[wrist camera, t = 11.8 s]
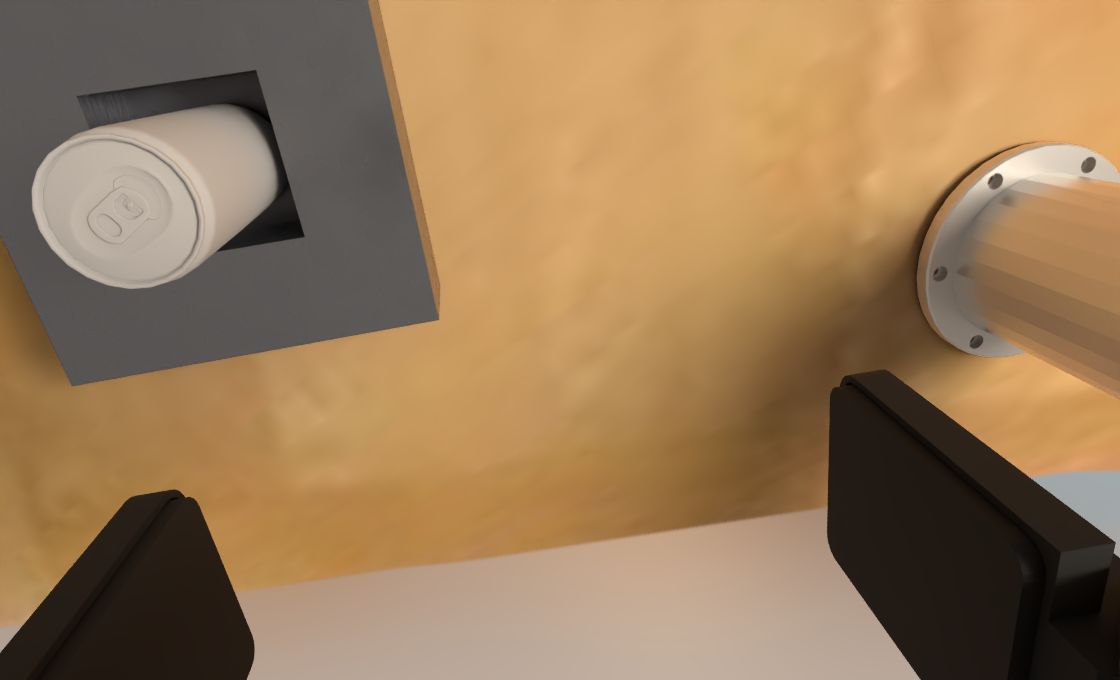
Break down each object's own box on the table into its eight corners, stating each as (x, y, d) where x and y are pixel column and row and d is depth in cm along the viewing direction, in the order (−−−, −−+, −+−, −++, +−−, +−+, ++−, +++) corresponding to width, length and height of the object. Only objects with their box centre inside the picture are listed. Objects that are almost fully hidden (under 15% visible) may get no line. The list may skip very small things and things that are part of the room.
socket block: (363, -65, 29) (348, -89, 24) (440, 286, 35) (439, 319, 31) (-30, -14, 28) (-125, -29, 23) (122, 342, 34) (72, 386, 29)
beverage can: (315, 165, 31) (244, 222, 20) (241, 232, 32) (134, 324, 21) (230, 78, 29) (101, 90, 18) (154, 152, 30) (-14, 206, 19)
